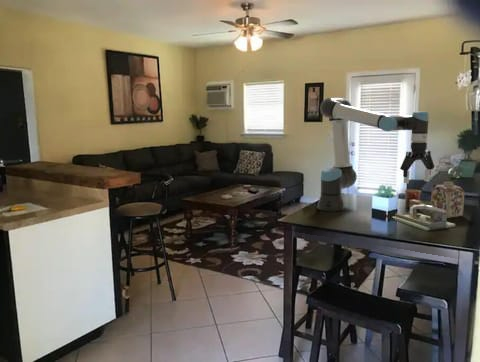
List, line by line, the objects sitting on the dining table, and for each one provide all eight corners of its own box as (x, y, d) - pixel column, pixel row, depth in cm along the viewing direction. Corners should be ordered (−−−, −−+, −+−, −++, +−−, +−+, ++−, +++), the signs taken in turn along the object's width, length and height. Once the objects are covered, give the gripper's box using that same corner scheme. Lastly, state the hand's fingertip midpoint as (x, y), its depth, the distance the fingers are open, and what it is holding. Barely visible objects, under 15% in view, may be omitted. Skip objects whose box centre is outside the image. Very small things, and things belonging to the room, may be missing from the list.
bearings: (430, 222, 195) (430, 211, 194) (434, 221, 196) (435, 211, 195) (441, 226, 188) (442, 215, 187) (446, 225, 189) (447, 214, 188)
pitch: (392, 218, 203) (392, 213, 202) (418, 215, 209) (419, 210, 208) (426, 230, 181) (426, 225, 181) (455, 226, 187) (455, 221, 187)
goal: (419, 226, 188) (420, 220, 187) (435, 224, 191) (436, 218, 190) (429, 230, 182) (430, 223, 182) (445, 227, 185) (446, 221, 185)
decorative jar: (447, 218, 202) (450, 184, 199) (429, 213, 213) (431, 181, 210) (463, 215, 207) (466, 182, 204) (445, 211, 217) (447, 179, 215)
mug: (402, 206, 231) (403, 189, 230) (417, 206, 230) (418, 189, 228) (407, 210, 220) (408, 193, 218) (423, 211, 218) (424, 193, 216)
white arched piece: (398, 214, 206) (399, 201, 205) (413, 212, 209) (414, 199, 208) (430, 224, 186) (431, 209, 185) (445, 222, 190) (447, 207, 188)
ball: (417, 221, 193) (417, 214, 193) (422, 220, 194) (422, 214, 194) (422, 222, 190) (422, 216, 190) (427, 222, 191) (427, 215, 191)
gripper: (404, 143, 192) (402, 185, 195) (443, 141, 200) (440, 181, 203) (394, 142, 199) (392, 182, 202) (432, 140, 207) (429, 179, 210)
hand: (416, 182), depth 203 cm, fingers open, 13 cm apart
